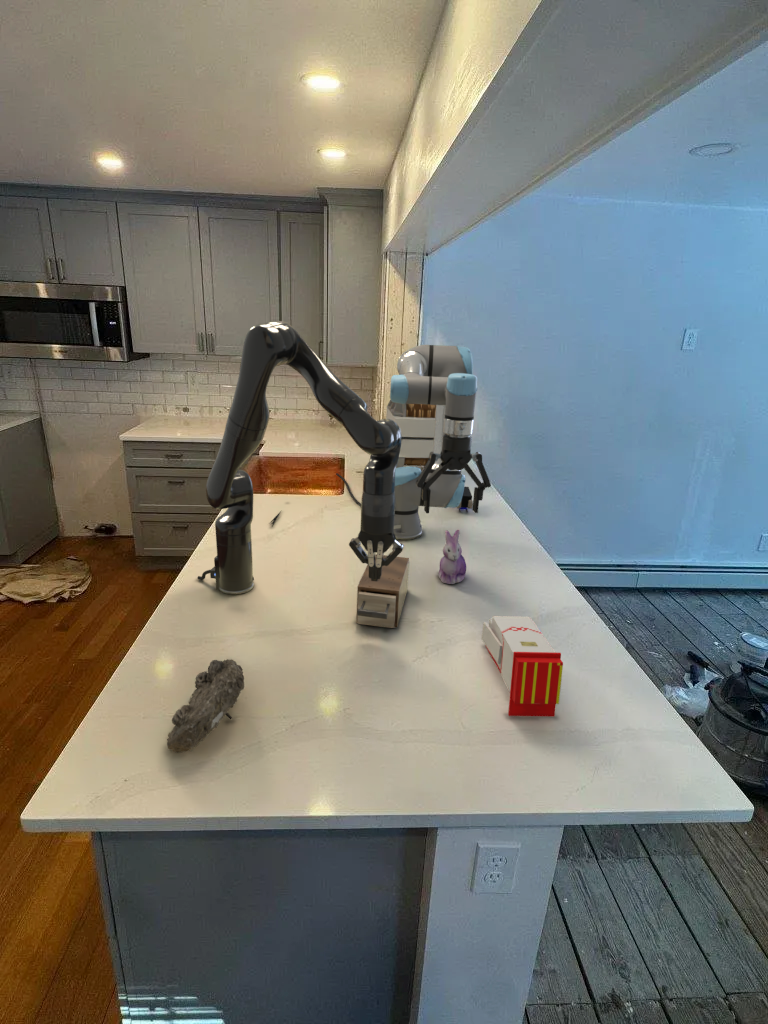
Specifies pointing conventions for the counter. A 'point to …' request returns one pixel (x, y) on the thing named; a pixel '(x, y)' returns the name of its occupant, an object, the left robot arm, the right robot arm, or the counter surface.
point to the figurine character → (466, 500)
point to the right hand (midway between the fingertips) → (450, 511)
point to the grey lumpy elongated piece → (206, 705)
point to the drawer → (376, 609)
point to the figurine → (452, 560)
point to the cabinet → (389, 582)
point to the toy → (525, 665)
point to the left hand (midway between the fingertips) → (375, 579)
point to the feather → (274, 519)
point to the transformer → (413, 431)
